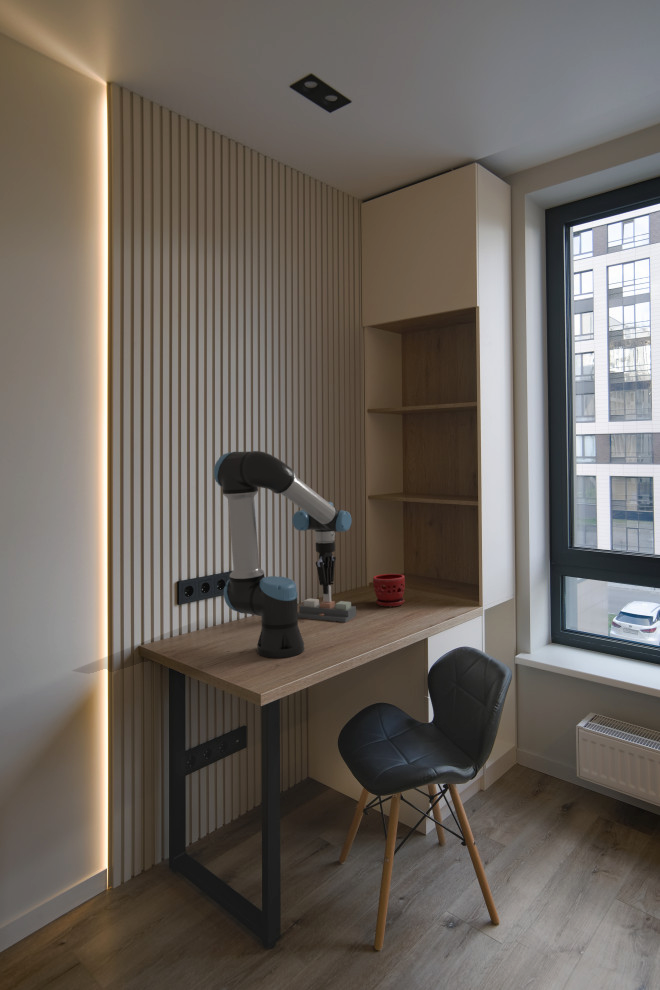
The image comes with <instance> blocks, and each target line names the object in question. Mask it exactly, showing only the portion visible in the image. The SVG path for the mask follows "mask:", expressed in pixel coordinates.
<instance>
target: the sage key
mask: <svg viewBox="0 0 660 990" xmlns="http://www.w3.org/2000/svg"><path fill="white" fill-rule="evenodd" d="M335 605H336V609H340V610H348V609H350V608H351V606H352V602H351V601H344V600H340V601H337V602H336V603H335Z"/></svg>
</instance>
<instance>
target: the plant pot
mask: <svg viewBox="0 0 660 990" xmlns="http://www.w3.org/2000/svg"><path fill="white" fill-rule="evenodd" d="M405 580H406V579H405V575H404V574H399V573H386V574H377V575H375V576H373V577H372V582H373V591H374V593H375V596H376V598H377V599H375V600H376V601H375V602H376V604H377V605H379V606H381V607H388V606H389V608H390V607H392V606H393V607H397V606H402V605H403V603H405V598H403V597H404V594H405V587H406V581H405Z"/></svg>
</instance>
